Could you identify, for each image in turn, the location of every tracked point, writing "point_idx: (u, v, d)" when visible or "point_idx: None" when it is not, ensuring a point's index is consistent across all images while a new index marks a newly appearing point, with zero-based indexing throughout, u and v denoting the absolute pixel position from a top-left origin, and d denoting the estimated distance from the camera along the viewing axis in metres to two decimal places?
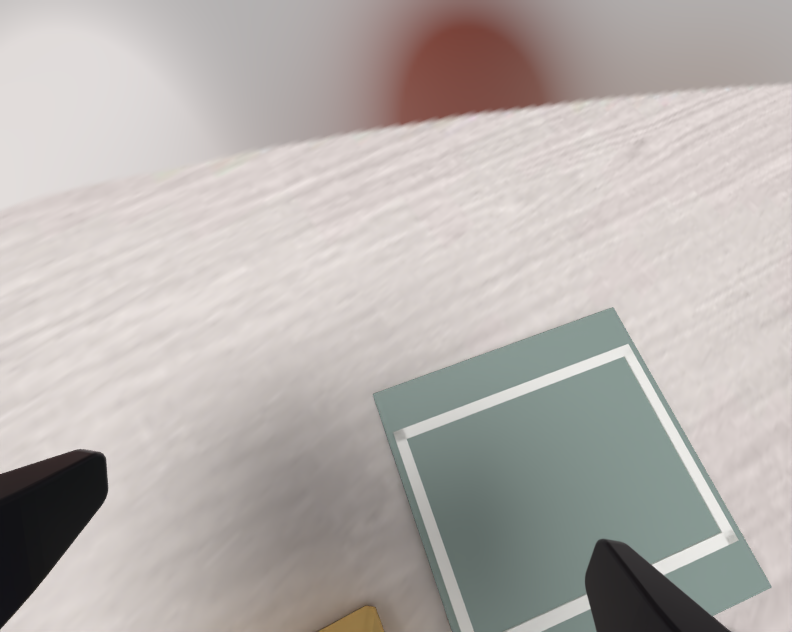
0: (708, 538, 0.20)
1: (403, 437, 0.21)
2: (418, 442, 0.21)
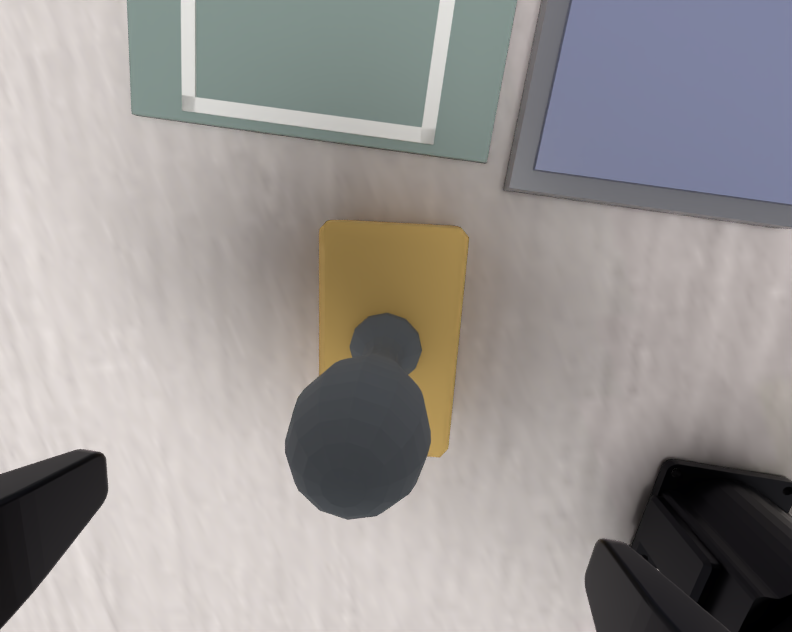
0: None
1: (193, 100, 0.16)
2: (205, 85, 0.16)
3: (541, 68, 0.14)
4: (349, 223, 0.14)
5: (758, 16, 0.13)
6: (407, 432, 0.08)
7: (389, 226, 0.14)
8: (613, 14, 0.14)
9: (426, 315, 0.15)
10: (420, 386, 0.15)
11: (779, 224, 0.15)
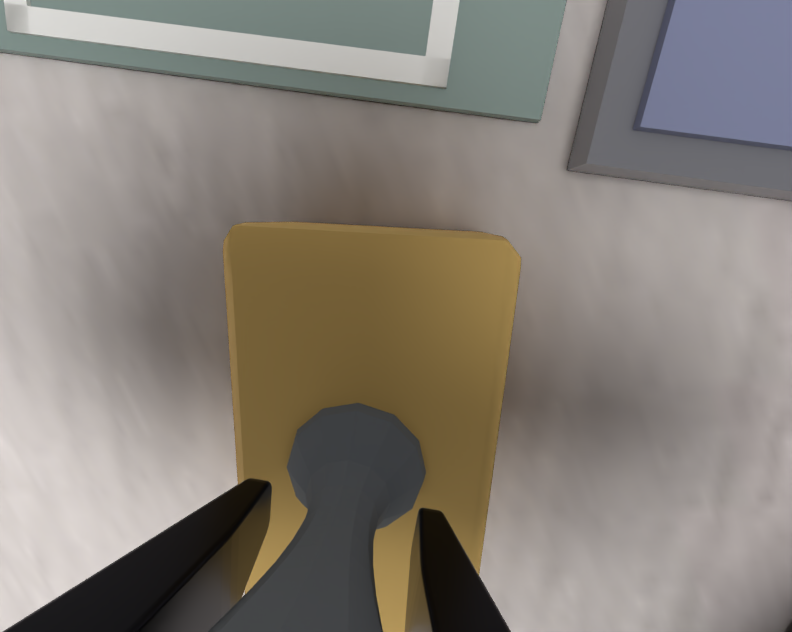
0: None
1: (27, 13, 0.09)
2: None
3: None
4: (279, 229, 0.07)
5: None
6: None
7: (360, 235, 0.07)
8: None
9: (434, 408, 0.08)
10: None
11: None
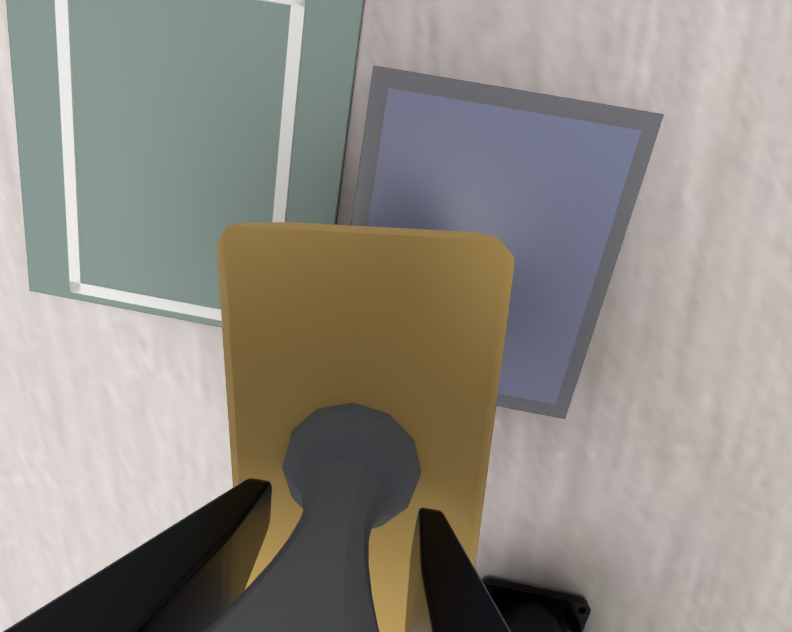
0: (289, 27, 0.16)
1: (80, 284, 0.20)
2: (89, 274, 0.20)
3: None
4: (273, 230, 0.07)
5: None
6: None
7: (355, 236, 0.07)
8: None
9: (429, 407, 0.08)
10: None
11: (545, 414, 0.19)
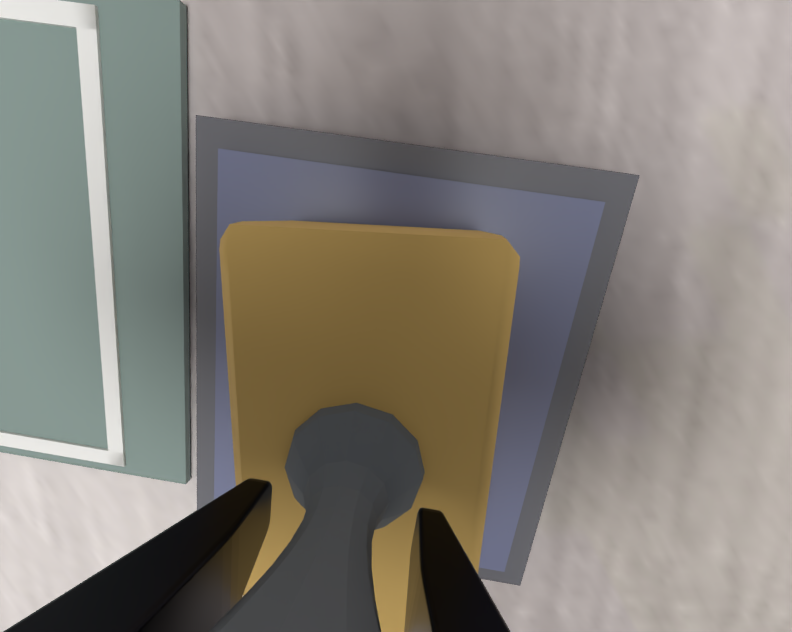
0: (80, 60, 0.11)
1: None
2: None
3: (205, 423, 0.13)
4: (276, 228, 0.07)
5: None
6: None
7: (357, 235, 0.07)
8: None
9: (432, 408, 0.07)
10: None
11: (492, 578, 0.14)
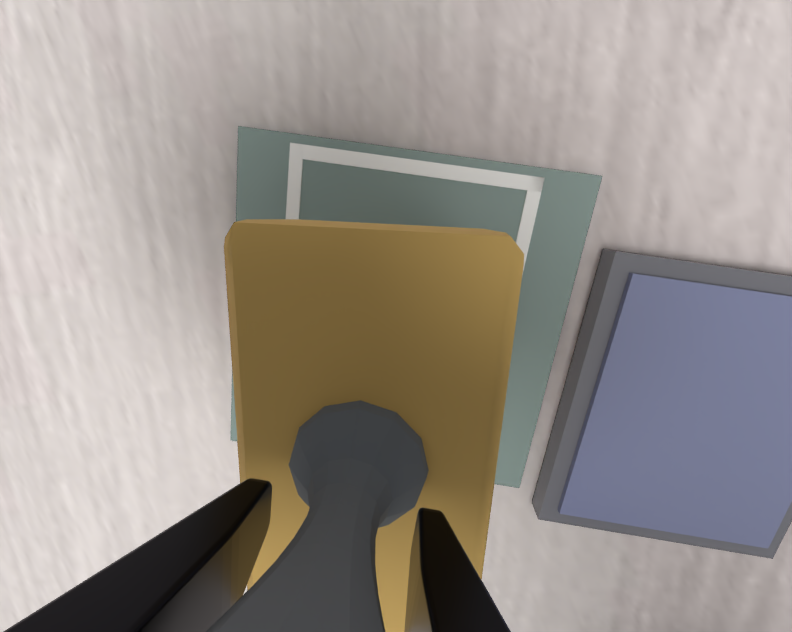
0: (523, 209, 0.17)
1: None
2: None
3: (565, 446, 0.18)
4: (280, 226, 0.07)
5: (734, 431, 0.17)
6: None
7: (361, 232, 0.07)
8: (622, 423, 0.18)
9: (437, 407, 0.07)
10: None
11: (752, 554, 0.19)
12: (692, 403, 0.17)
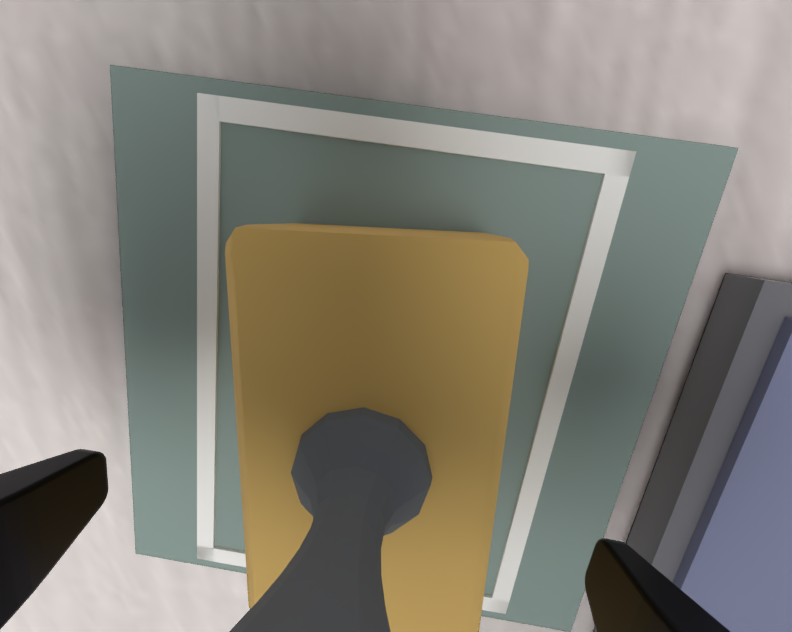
0: (595, 207, 0.10)
1: (211, 548, 0.14)
2: (226, 535, 0.13)
3: None
4: (282, 231, 0.07)
5: None
6: None
7: (365, 238, 0.07)
8: (754, 560, 0.11)
9: (440, 413, 0.07)
10: (429, 539, 0.08)
11: None
12: None
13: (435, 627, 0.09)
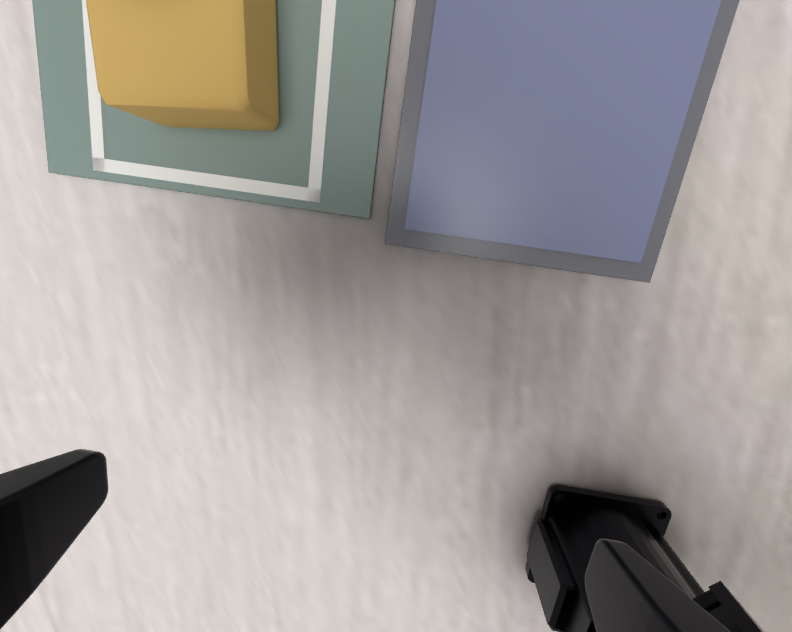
0: None
1: (103, 161, 0.18)
2: (113, 148, 0.18)
3: (405, 140, 0.16)
4: None
5: (588, 99, 0.15)
6: None
7: None
8: (462, 96, 0.15)
9: None
10: None
11: (627, 278, 0.17)
12: (538, 62, 0.15)
13: (212, 77, 0.13)
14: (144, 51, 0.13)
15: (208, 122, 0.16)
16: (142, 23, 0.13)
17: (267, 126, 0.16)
